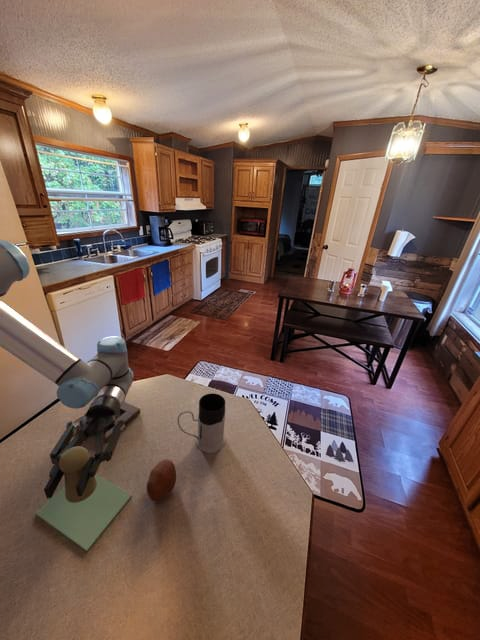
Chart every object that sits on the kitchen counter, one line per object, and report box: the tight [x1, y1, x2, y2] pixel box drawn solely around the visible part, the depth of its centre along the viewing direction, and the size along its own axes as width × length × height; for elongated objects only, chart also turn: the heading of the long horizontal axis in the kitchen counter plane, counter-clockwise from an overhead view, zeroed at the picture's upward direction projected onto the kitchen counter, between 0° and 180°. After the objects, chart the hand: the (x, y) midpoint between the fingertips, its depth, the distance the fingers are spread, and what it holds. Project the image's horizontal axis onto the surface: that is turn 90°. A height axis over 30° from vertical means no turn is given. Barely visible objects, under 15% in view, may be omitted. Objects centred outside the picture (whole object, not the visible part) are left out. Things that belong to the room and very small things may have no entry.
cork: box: [59, 446, 97, 503], centre depth 54 cm, size 6×6×11 cm
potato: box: [146, 458, 177, 503], centre depth 63 cm, size 7×9×6 cm
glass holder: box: [176, 392, 226, 454], centre depth 74 cm, size 9×14×15 cm, turn 112°
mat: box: [34, 474, 133, 553], centre depth 59 cm, size 16×12×1 cm
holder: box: [73, 401, 141, 444], centre depth 81 cm, size 13×13×2 cm
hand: (63, 492), depth 49 cm, fingers closed on cork, 5 cm apart
